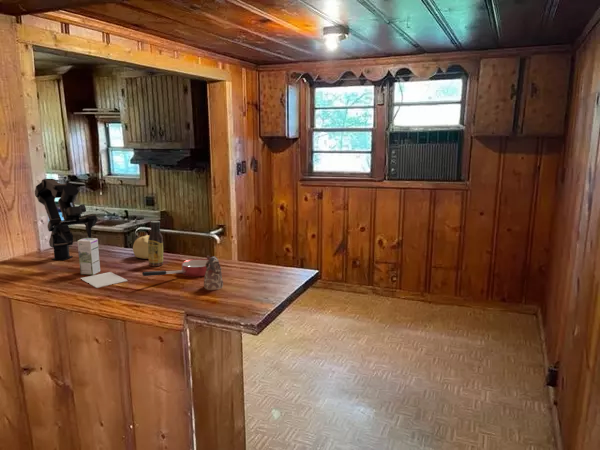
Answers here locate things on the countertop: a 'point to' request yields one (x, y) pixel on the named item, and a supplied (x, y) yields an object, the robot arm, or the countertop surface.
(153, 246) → the sauce bottle
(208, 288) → the figurine
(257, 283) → the countertop surface
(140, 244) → the tan rounded lump
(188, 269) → the frying pan
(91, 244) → the syrup box
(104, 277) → the mat
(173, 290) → the countertop surface
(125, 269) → the countertop surface
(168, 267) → the countertop surface
